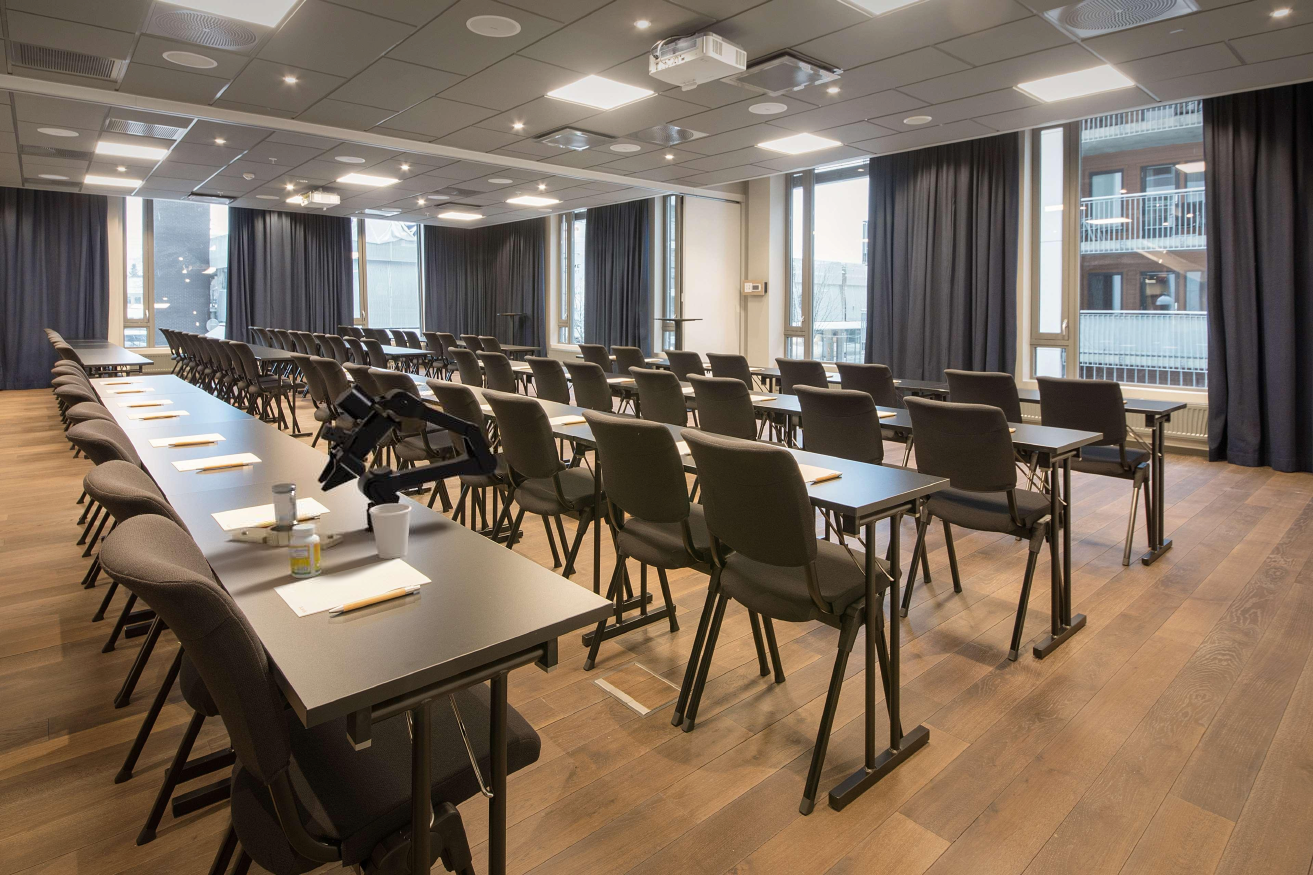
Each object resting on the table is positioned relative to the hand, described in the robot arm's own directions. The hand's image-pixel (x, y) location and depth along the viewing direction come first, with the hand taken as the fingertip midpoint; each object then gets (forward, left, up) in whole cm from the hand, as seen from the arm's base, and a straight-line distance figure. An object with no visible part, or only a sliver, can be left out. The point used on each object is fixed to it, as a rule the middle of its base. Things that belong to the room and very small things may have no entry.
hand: (320, 486), depth 172 cm
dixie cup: (-23, +7, -12) cm, 26 cm away
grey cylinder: (+5, +5, -12) cm, 14 cm away
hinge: (+5, +5, -12) cm, 14 cm away
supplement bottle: (-14, +22, -12) cm, 28 cm away
